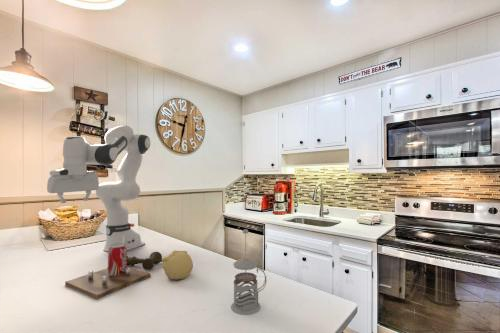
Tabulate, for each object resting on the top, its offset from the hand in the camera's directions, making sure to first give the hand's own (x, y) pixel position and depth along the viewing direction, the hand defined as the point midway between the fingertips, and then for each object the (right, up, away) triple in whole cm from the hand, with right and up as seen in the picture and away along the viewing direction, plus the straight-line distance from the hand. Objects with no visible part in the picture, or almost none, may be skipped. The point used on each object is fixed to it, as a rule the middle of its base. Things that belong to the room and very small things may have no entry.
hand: (74, 201), depth 114 cm
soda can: (+24, -29, -9) cm, 39 cm away
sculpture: (+49, -31, -8) cm, 59 cm away
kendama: (+30, -32, +4) cm, 44 cm away
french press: (+79, -30, -33) cm, 91 cm away
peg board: (+23, -31, -12) cm, 40 cm away
